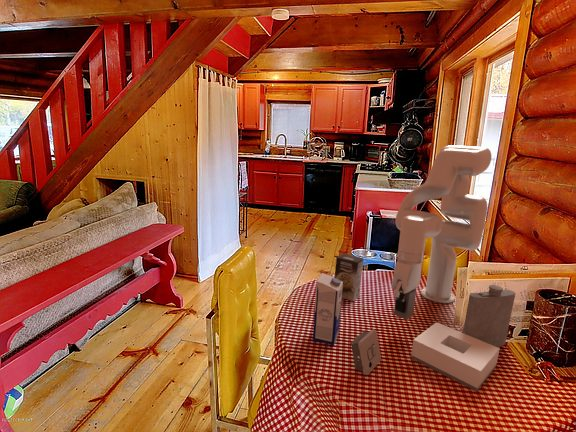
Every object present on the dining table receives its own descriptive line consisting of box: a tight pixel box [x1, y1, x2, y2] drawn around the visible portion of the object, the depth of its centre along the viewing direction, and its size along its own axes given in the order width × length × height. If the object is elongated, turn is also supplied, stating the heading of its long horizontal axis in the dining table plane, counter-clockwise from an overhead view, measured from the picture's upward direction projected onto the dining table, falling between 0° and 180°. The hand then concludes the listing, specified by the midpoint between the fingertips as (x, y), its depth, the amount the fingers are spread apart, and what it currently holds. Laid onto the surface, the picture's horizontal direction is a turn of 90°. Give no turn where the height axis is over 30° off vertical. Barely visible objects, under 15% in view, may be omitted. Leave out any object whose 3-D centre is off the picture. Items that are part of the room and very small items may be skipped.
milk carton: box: [312, 272, 343, 346], centre depth 109 cm, size 7×7×20 cm
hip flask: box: [462, 284, 516, 348], centre depth 108 cm, size 16×4×20 cm, turn 106°
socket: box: [410, 322, 501, 393], centre depth 101 cm, size 15×18×6 cm
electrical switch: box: [350, 329, 382, 376], centre depth 98 cm, size 9×5×9 cm, turn 141°
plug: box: [393, 289, 417, 321], centre depth 114 cm, size 4×4×10 cm
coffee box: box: [334, 253, 364, 302], centre depth 139 cm, size 9×6×16 cm
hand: (404, 308), depth 114 cm, fingers closed on plug, 4 cm apart
